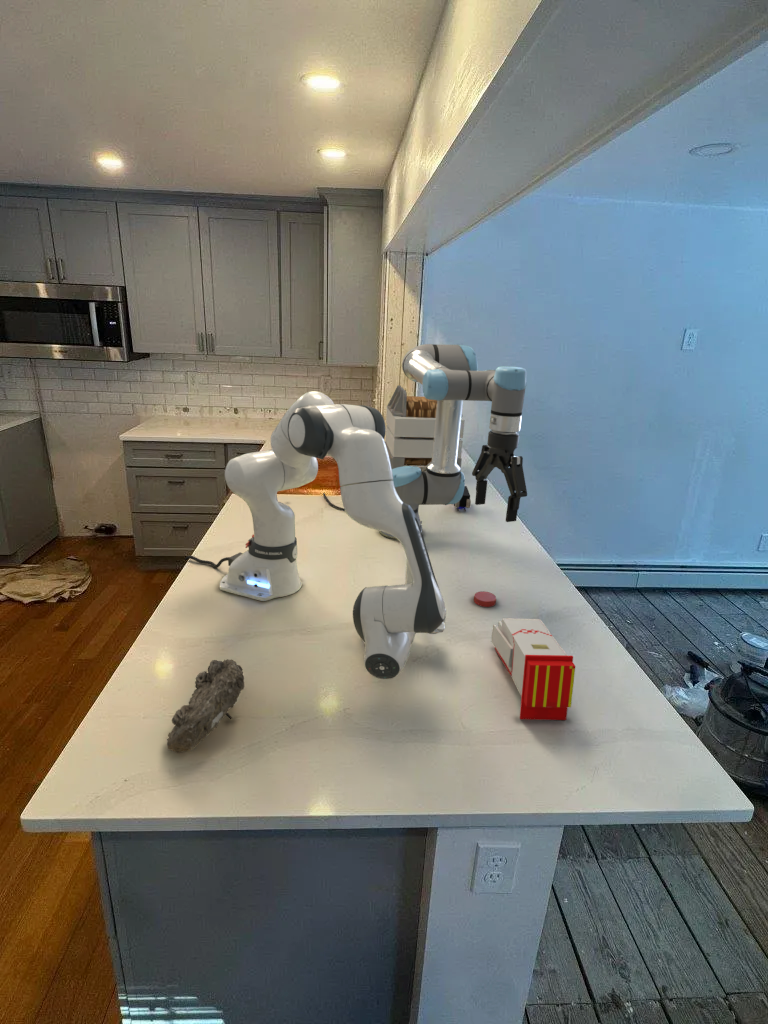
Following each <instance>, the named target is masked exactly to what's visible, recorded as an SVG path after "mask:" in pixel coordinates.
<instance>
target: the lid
mask: <svg viewBox="0 0 768 1024" xmlns="http://www.w3.org/2000/svg"><path fill="white" fill-rule="evenodd" d="M473 603H474V604H476V605H477V606H480V607H484V608H491V607H494V606H495V605H496V603H497V596H496V595H495V594H494V593H493V592H489V591H485V590H484V591H483V590H480V591H477V592H475V593H474V596H473Z"/></svg>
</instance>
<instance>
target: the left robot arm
mask: <svg viewBox="0 0 768 1024" xmlns="http://www.w3.org/2000/svg"><path fill="white" fill-rule="evenodd" d="M385 438H386V420H385V419H384V416H383V415H382V412H380V410H378V409H377V408H375V407H372V406H369V405H364V404H359V405H355V404H347V403H334V401H333V399H331V398H330V397H329V396H328V395H326V394H325V393H323V392H322V391H321V392H320V391H317V390H313V391H307V392H305V393H304V394H302V395H301V396H299V397H298V398H297V400H295V401H294V402H293V404H291V406H289V408H288V409H287V410H286V411H285V413H284V414H283V416H282V417H281V419H280V421H279V422H278V423H277V425H276V426H275V428H274V430H273V431H272V433H271V436H270V448H271V449H268V450H261V451H253V452H247V453H243V454H241V455H238V456H236V457H233V458H230V460H229V461H228V462H227V463H226V466H225V469H224V480H225V484H226V486H227V487H228V489H229V490H230V491H231V492H232V494H234V495H236V496H238V497H239V498H240V499H242V500H243V501H244V502H245V503H246V505H247V507H248V508H249V510H250V513H251V518H252V519H251V520H252V527H253V534H252V535H251V538H249V539H248V540H247V542H246V543H245V549H247V548H248V549H247V550H246V551H244V552H237V553H236V554H233V555H231V556H227V557H223V558H221V559H220V560H219V561H218V562H217V564H216V563H214V562H213V561H210V560H203V559H200V558H198V557H196V556H194V555H187V556H186V557H185V558H184V560H185V561H187V560H190V559H191V560H193V561H195V562H197V563H200V564H205V565H209V566H212V567H213V568H214V569H215V568H216V569H218V568H219V567H221V565H223V562H228V563H227V564H228V565H227V566H229V567H228V570H227V573H226V574H225V575H224V576H223V577H222V578H221V579H220V581H219V590H220V591H223V592H227V593H230V594H233V595H234V594H235V595H238V596H241V597H246V598H249V599H253V600H256V601H261V602H267V601H270V600H272V599H277V598H281V597H287V596H290V595H293V594H295V593H297V592H298V591H299V590H300V589H301V587H302V584H303V583H302V580H301V577H300V573H299V569H298V562H297V558H298V540H297V537H296V514H295V512H294V510H293V509H292V507H290V506H289V505H288V504H286V503H283V502H281V501H279V500H278V492H282V491H288V490H293V489H296V488H301V487H302V486H306V485H308V484H309V483H311V482H313V481H315V479H316V478H317V475H318V472H319V463H318V459H319V460H324V459H325V458H326V457H331V458H333V459H334V460H335V462H336V464H337V468H338V469H337V470H338V480H339V486H340V487H339V490H340V498H341V502H342V503H341V504H342V506H343V507H342V508H344V510H345V511H344V510H343V511H344V512H345V513H346V515H347V516H348V517H349V518H350V519H351V520H352V521H354V522H355V523H357V524H358V525H359V526H362V527H366V528H369V529H372V530H376V531H378V532H379V531H383V532H386V533H388V534H391V535H393V536H394V537H396V538H397V539H398V540H397V541H399V542H400V544H401V546H402V547H403V550H404V554H405V558H406V561H408V564H409V568H410V571H411V574H412V578H413V581H414V582H413V583H411V584H405V583H404V584H392V585H391V584H390V585H385V584H384V585H374V586H365V587H364V588H363V589H362V590H361V591H360V592H359V593H358V595H357V597H356V599H355V601H354V603H353V608H352V621H353V626H354V629H355V631H356V633H357V635H358V636H359V637H360V639H361V640H362V642H363V643H364V655H363V656H364V657H363V664H364V668H365V670H366V672H367V673H368V674H370V675H371V676H372V677H374V678H377V679H381V680H389V679H390V680H391V679H394V678H397V677H398V676H399V675H400V674H401V673H402V671H403V669H404V668H405V666H406V664H407V662H408V660H409V656H410V653H411V650H412V645H413V643H414V641H415V637H416V633H418V634H429V635H436V634H439V633H443V632H444V631H445V628H446V625H445V623H446V617H447V609H446V603H445V599H444V596H443V594H442V592H441V589H440V586H439V583H438V581H437V578H436V575H435V572H434V570H433V566H432V565H433V564H432V563H431V559H430V555H429V551H428V549H427V546H426V541H425V539H424V536H423V531H422V532H421V529H420V526H419V523H418V520H417V518H416V515H415V513H414V511H413V509H412V508H411V506H410V505H407V504H405V503H403V502H402V500H401V499H400V498H399V496H398V494H397V492H396V489H395V486H394V481H391V480H393V473H392V468H391V463H390V458H389V454H388V451H387V447H386V444H385V442H386V441H385Z"/></svg>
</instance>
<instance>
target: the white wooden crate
mask: <svg viewBox="0 0 768 1024" xmlns="http://www.w3.org/2000/svg"><path fill="white" fill-rule="evenodd" d="M407 394H408V393H407V390H406V389H404V388H403V387H402V385H399V384H398V385H397V386H396V388H395V390H394V392H393V394H392V395H391V398H390V400H389V402H388V404H387V405H386V413H385V414H386V415H385V424H386V425H385V427H386V432H385V438H384V441H385V444H386V447H387V451H388V454H389V458H390V463H391V468H392V469H394V468H397V467H402V466H411V467H412V466H416V467H427V465H428V464H429V463H430V462H431V461H432V452H433V441H434V430H435V419H436V408H437V400H430V399H426V398H425V397H424V396H415V395H414V396H413V395H412V396H411V395H407ZM464 429H465V419H464V418H463V417H462V418H461V427H460V436H459V445H458V455H457V465H458V466H459V467H460V471H461V472H462V461H463V460H462V453H463V442H464V441H463V440H462V439H463V438H464V431H465V430H464Z"/></svg>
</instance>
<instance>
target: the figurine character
mask: <svg viewBox="0 0 768 1024" xmlns="http://www.w3.org/2000/svg"><path fill="white" fill-rule="evenodd" d="M471 501H472V500H471V494H470V491H469V488H468V486H467V485H465V487H464V492H463V495H462V498H461V499H460V501H459V502H457V503H456V504H453V507H454V508H456V511H457V512H460V510H463V511H464V513H466V512H467V509H470V508H471V505H472V504H471ZM466 508H467V509H466Z"/></svg>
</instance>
